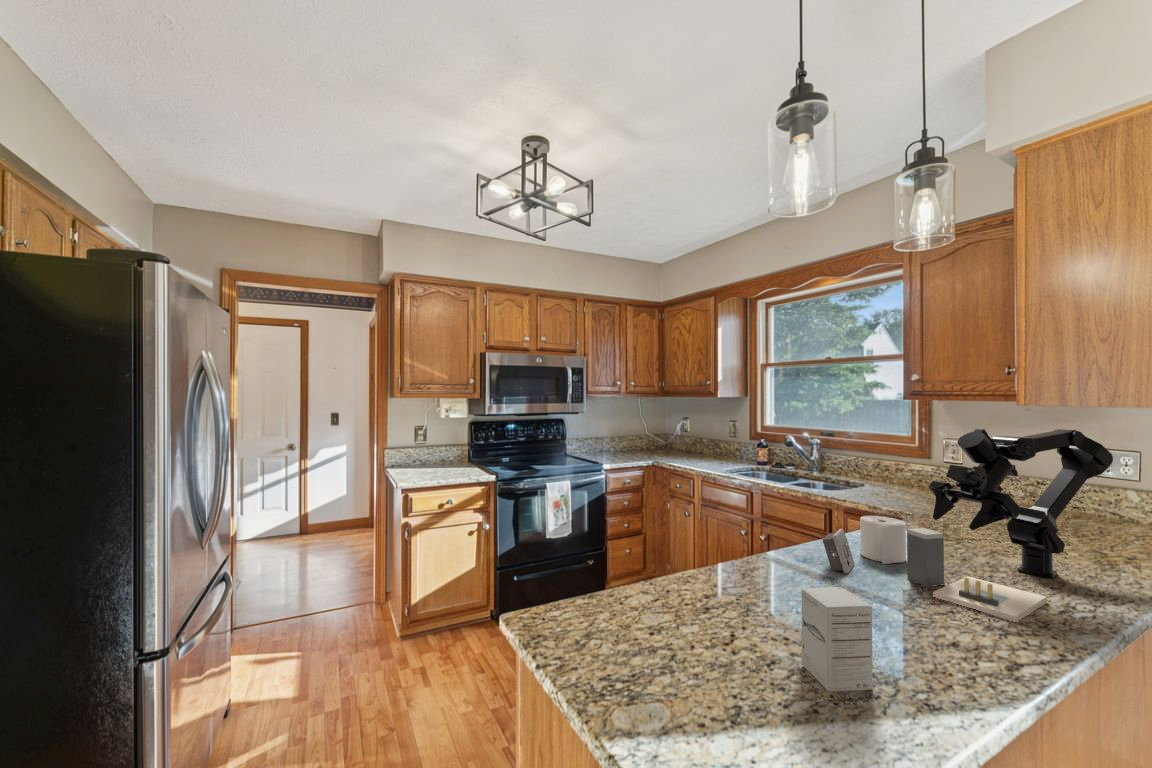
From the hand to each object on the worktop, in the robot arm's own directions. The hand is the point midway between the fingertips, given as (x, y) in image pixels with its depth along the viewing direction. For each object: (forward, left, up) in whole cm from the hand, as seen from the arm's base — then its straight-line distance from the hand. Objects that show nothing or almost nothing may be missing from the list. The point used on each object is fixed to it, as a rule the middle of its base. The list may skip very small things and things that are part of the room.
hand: (951, 523), depth 118 cm
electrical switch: (+13, -20, -14) cm, 28 cm away
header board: (+8, +9, -13) cm, 18 cm away
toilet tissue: (-5, -16, -14) cm, 22 cm away
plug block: (+7, -3, -13) cm, 16 cm away
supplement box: (+65, +2, -14) cm, 66 cm away
